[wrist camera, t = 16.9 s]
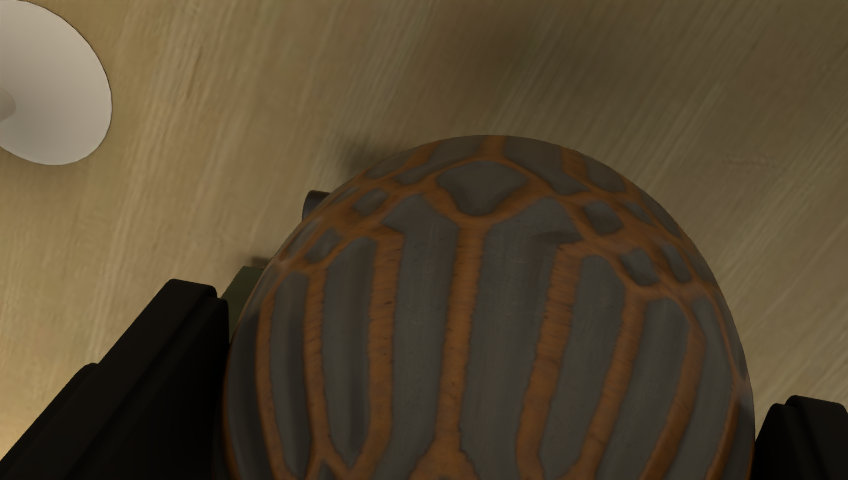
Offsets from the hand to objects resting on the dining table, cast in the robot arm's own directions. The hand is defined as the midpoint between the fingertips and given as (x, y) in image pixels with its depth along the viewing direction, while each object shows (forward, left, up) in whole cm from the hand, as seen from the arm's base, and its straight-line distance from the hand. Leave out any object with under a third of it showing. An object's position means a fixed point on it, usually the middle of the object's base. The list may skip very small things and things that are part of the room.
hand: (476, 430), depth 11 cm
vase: (0, 0, -4) cm, 4 cm away
